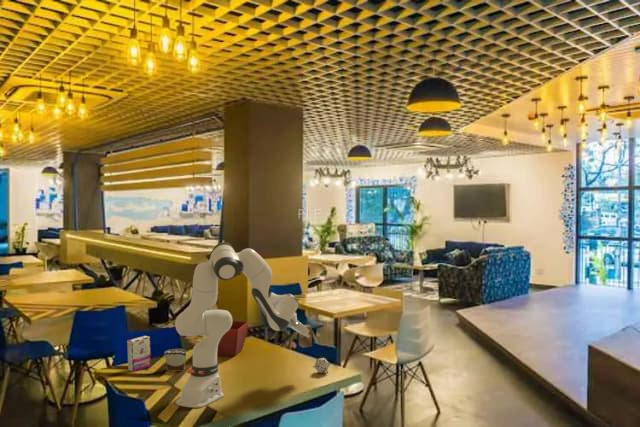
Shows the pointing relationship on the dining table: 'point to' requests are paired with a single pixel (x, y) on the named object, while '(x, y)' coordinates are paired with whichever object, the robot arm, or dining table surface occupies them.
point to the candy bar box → (139, 353)
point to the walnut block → (304, 340)
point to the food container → (175, 359)
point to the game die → (321, 365)
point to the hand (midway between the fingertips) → (306, 335)
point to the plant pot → (233, 339)
